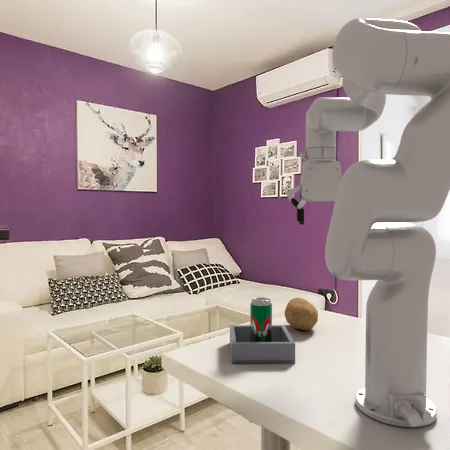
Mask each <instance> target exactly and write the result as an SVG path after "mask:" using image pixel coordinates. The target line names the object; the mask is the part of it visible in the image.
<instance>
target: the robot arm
mask: <svg viewBox="0 0 450 450" xmlns="http://www.w3.org/2000/svg"><path fill="white" fill-rule="evenodd" d="M331 54H332V63H333V65H334V69H335V70H336V71H337V72H338V74H340V75H341V76H342V79H341V80H342V81H341V82H342V83H341V85H342V89H343V91H344V93H345V95H346V96H347V97H337V96H336V97H329V96H328V97H327V96H326V97H324V96H323V97H317V98H315V100H313V102H312V103H311V105H310V106H309V108H308V109H307V111H306V113H305V150H304V151H302V152H301V151H299V157H300V158H302V159H304V161H303V162H302V167H301V172H300V181H299V185H297V186H295V187H293V188H291V189H289V190H287V191H286V192H285V194H286V196H287V199H288V200H289V203H291V204H292V205H293V207H294V208H295V209H296V222H298V225H300V226H302V225H305V209H304V206H305V204H306V203H307V202H333V203H334V204H333V207H332V208H333V210H332V214H331V216H330V217H331V218H330V223H329V227H328V230H327V231H328V232H327V236H326V242H325V248H324V249H325V250H324V251H325V252H324V257H325V263H326V267H327V269H328V271H329V273H330V274H331V276H333V277H334V278H336V279H339V280H343V281H376V282H375V284H374V286H373V287H372V289H370V293H369V295H368V296H367V300H366V305H365V307H366V308H365V354H364V355H365V361H364V362H365V364H364V366H365V369H364V370H365V374H364V375H365V376H364V378H365V379H364V382H365V383H364V384H365V385H364V387H362V388H360V389H359V390H358V391H357V392H356V393H355V404H356V406H357V408H358V409H359V410H360V411H361V412H362V413H363V414H365V415H366V416H367V417H370V418H371V419H374V420H375V421H378V422H381V423H384V424H387V425H392V426H396V427H402V428H403V427H404V428H420V427H426V426H428V425H430V424H433V423H434V422H435V421H436V419H437V415H438V414H437V412H438V411H437V407H436V405H435V404H434V403H433V401H431V400H430V399H429V398H428V397H427V370H428V369H427V365H428V359H427V358H428V320H429V319H428V318H429V317H428V315H429V313H428V312H429V293H430V286H431V280H432V275H433V272H434V268H435V267H434V266H435V262H436V257H437V248H436V247H437V245H436V242H435V239H434V238H433V236H432V234H431V233H430V232H429V231H428V230H427V229H426V228H425V227H422V225H418V224H416V223H421V222H422V223H423V222H427V221H431V220H433V219H435V218H436V217H437V216H438V215H439V214H440V213H441V211H442V209H443V207H444V205H445V203H446V200H447V198H448V195H449V192H450V32H442V31H441V32H439V31H422V30H421V28H420V27H419V26H418V25H415V24H414V23H412V22H410V21H409V22H408V21H405V20H397V19H384V18H383V19H382V18H367V17H366V18H364V17H357V18H354V19H352V20H349V21H348V22H347V23H345V24H344V25H343V27H342V28H341V29H339V31H338V33H337V36H335V39H334V42H333V46H332V53H331ZM387 95H391V96H392V95H397V96H420V97H421V96H424V97H425V96H427V97H430V98H431V99H430V100H429V101H428V102H427V103H426V104H425V105H423V106H422V107H421V108H419V110H418V111H417V112H416V113H415V114H414V115H413V116H412V118H411V119H410V120H409V121H408V122H407V124H406V125H405V127H404V129H403V131H402V134H401V138H400V141H399V145H398V148H397V151H396V153H395V155H394V156H393V157H392V158H390V159H366V160H359V161H356V162H355V163H352V164H350V166H349V167H348V168H347V169H346V170H345V172H343V173H342V167H341V163H340V161H337V132H360V131H364V130H367V129H368V128H370V126H372V125H374V123H376V122H377V121H378V120H379V119H380V118H381V116H382V113H384V109H385V106H386V101H387V100H386V99H387ZM297 192H299V199H300V200H299V201H298V200H297V199H296V198H295V196H294V194H295V193H297Z"/></svg>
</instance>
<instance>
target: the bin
mask: <svg viewBox="0 0 450 450" xmlns="http://www.w3.org/2000/svg"><path fill="white" fill-rule="evenodd" d="M229 348H230V359H231V364H232V365H253V364H254V365H262V364H263V365H267V364H268V365H270V364H271V365H275V364H276V365H279V364H280V365H281V364H283V365H285V364H286V365H289V364H290V365H291V364H292V365H293V364H296V341H295V340H294V339H293V337H292V336H291V333H290V332H289V330H288V328H287V327H286V325H285V324H272V342H250V325H249V324H248V325H247V324H246V325H245V324H244V325H242V324H241V325H238V324H235V325H232V324H231V325H229Z"/></svg>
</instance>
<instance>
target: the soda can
mask: <svg viewBox="0 0 450 450" xmlns="http://www.w3.org/2000/svg"><path fill="white" fill-rule="evenodd" d="M249 305H250V308H249V309H250V312H249V313H250V321H249V322H250V323H249V324H250V342H272V325H273V323H272V321H273V316H272V315H273V303H272V302H271V299H270V298H268V297H262V296H261V297H254V298H253V297H252V299H251V302H250V304H249Z"/></svg>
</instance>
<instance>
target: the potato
mask: <svg viewBox="0 0 450 450" xmlns="http://www.w3.org/2000/svg"><path fill="white" fill-rule="evenodd" d="M284 318H285V320H286V323H288V324H289V325H290V326H291V327H293V328H294V329H298V330H303V331H307V330H310V329H313V328H314V327H315V326H316V324H317V323H318V321H319V320H318V318H319V312H318V309H317V307H316V306H315V305H314V304H312V303H310V302H309V301H308V300H307V299H305V298H303V297H302V298H301V297H294V298H292V299H290V300H289V301H288V302H287V304H286V305H285V309H284Z"/></svg>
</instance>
